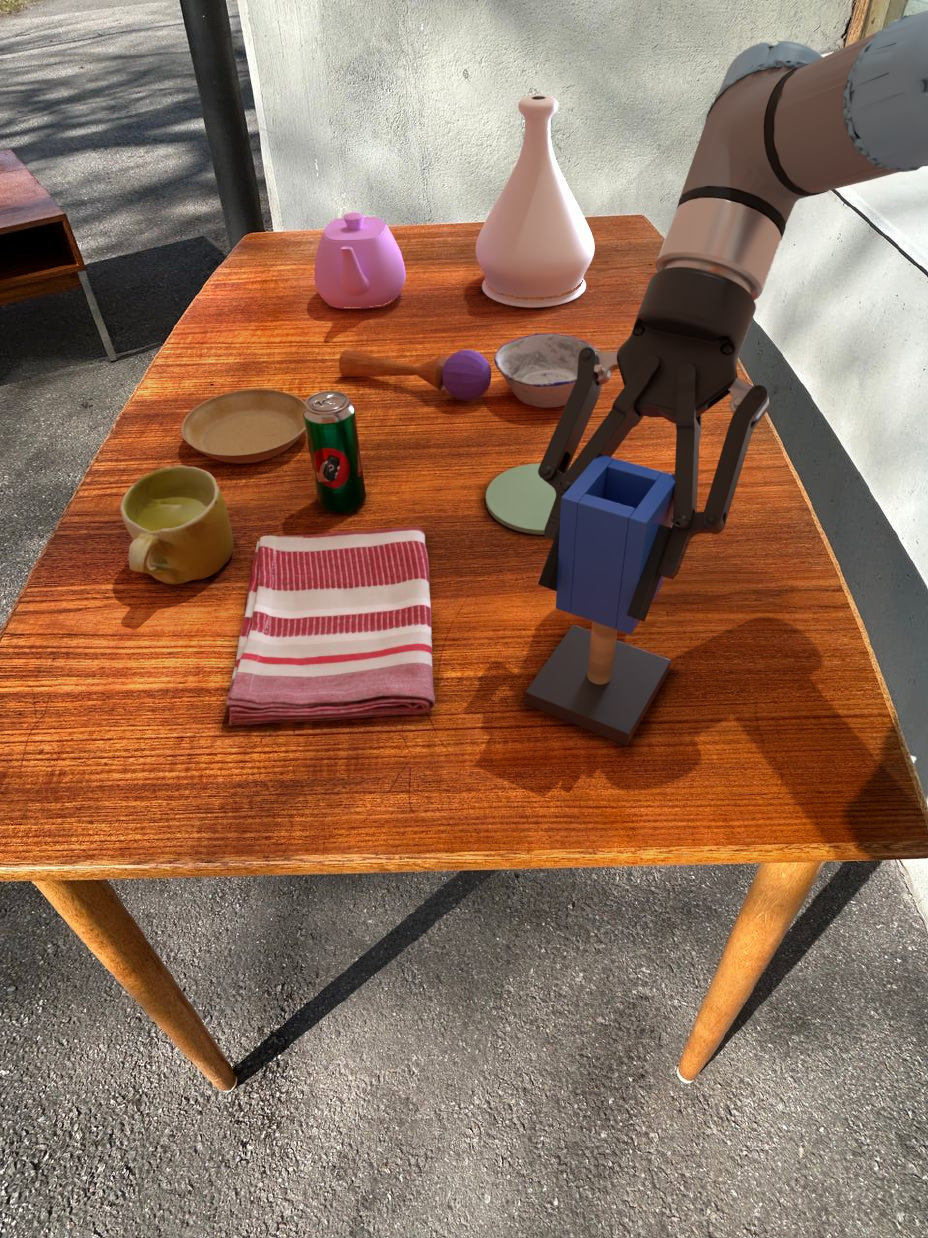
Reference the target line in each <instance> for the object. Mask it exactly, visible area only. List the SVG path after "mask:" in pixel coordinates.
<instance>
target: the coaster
mask: <svg viewBox="0 0 928 1238" xmlns="http://www.w3.org/2000/svg"><path fill="white" fill-rule="evenodd" d="M540 464H541V462H540V463H529V464H522V465H519V466H515V467H512V468H509V469H507V470H505V471H503V472H501V473H500V474H498V475H497V476H495V477H494V479H492V481H491V482H490V483H489V484H488V486H487V488H486V491H485V505H486V509H487V511H488V512H489V515H491V517H493V518H494V519H495V520H496V521H497V522H498V523H500V524H501V525H503V526H504V527H506V528H509V529H511V530H514V531H517V532H521V533H525V534H530V535H539V536H541V535H544V529H545V526H546V523H547V521H548V518H549V515H550V512H551V509H552V507H553V504H554V501H555V498H556V492H555V489H554V488H553V487H552V486H551V485H549V484H548V483H547V482H546V481H544V480H543V479H542V478H541V477H540V476H539V474H538V469H539V467H540ZM569 468H570V467H569ZM569 468H568V469H569Z"/></svg>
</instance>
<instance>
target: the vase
mask: <svg viewBox="0 0 928 1238" xmlns="http://www.w3.org/2000/svg"><path fill="white" fill-rule="evenodd" d="M517 106H518V107H517V109H518V112H519V113H520V114H521V115H522V116H523V118H524V135H523V136H524V137H523V142H522V146H521V151H520V154H519V156H518V158H517V161H516V164H515V165H514V168H513V169H512V172H511V174H510V175H509V177H508V180H507V181H506V183H505V185H504V187H503V189H502V190H501V192H500V194H499V196H498V198H497V200H496V201H495V203H494V205H493V207H492V209H491V210H490V212H489V214H488V216H487V218H486V220H485V221H484V223H483V226H482V227H481V229H480V231H479V234H478V236H477V239H476V243H475V247H474V248H475V249H474V250H475V251H474V252H475V258H476V261H477V264H478V265H479V267H480V269H481V271H482V273H483V276H484V280H483V281H482V284H481V289H482V291H483V293H484V295H486V296H487V297H488V298H490V299H492V300H493V301H495V302H498V303H501V304H504V305H507V306H512V307H520V308H549V307H553V306H559V305H563V304H567V303H569V302H571V301H573V300H576V299H577V298H579V297H580V296H582V294H583V293H584V292H585V291H586V288H587V283H586V281H585V279H584V276H585V274H586V272H587V271H588V269H589V267H590V265H591V263H592V261H593V258H594V255H595V239H594V237H593V234H592V231H591V229H590V227H589V225H588V223H587V222H588V221H587V220H586V219H585V216H584V215H583V213H582V210H581V208H580V206H579V205H578V202H577V201H576V199H575V196H574V195H573V193H572V190H571V189H570V188H569V185H568V183H567V181H566V179H565V177H564V174H563V173H562V170H561V168H560V166H559V164H558V162H557V161H558V160H557V159H556V155H555V152H554V149H553V143H552V136H551V135H552V134H551V120H552V117H553V116H554V114H555V113H556V112H557V111H558V109H559V101H558V100H557V99H556V98H555V97H553V96H550V95H546V94H533V95H532V94H531V95H527V96H525V97H523V98H521V99H520V100H519V102H518V105H517ZM485 280H486V282H487V284H488V285H489V286H490V287H491V288H493V289H494V290H496V291H498V292H501V293H503V294H506V295H513V296H518V297H535V298H536V297H547V296H548V297H549V296H553V295H561V294H563V293H566V292H568V291H570V290H573V289H574V288H576V287H577V286H578V285H579V284H580V283H581V282H582V280H583V282H582V284H581V286H580V287H579V288H578V289H577V290H575V291H574V292H572V293H570V294H567V295H564V296H561V297H557V298H552V299H544V300H523V299H515V298H510V297H506V296H503V295H500V294H497V293H495V292H494V291H492V290H491V289H490V288H489V287H488V286H487V285H486V282H485Z"/></svg>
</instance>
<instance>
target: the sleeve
mask: <svg viewBox="0 0 928 1238" xmlns="http://www.w3.org/2000/svg"><path fill="white" fill-rule="evenodd" d="M675 483H676V481H675V474H674V473H673V474H672V473H669V472H665V471H662V470H659V469H654V468H651V467H647V466H644V465H641V464H636V463H633V462H630V461H625V460H622V459H618V458H614V457H613V456H612V457H608V456H604V455H600V456H599V457H598V458H596V459H594V460H593V461H592V462H591V463H590V464H589V466H588V467H587V468H586V469H585V470H584V471H583V473H582V474H581V475H580V476H579V477H578V479H577V480H576V481H575V482H574V483H573V484H572V486H571V487H570V488H569V489H568V490H567V492H566V493H565V494H564V495H563V496H562V498H561V515H560V534H559V554H558V574H557V591H556V597H555V609H557V610H560V611H561V612H565V613H569V614H571V615H573V616H576V617H579V618H582V619H584V620H585V619H586V620H588V621H591V622H592V621H593V622H596V623H599V624H602V625H605V626H607V627H610V628H613V629H616V630H617V631H619V632H621V633H624V634H627V635H630V636H631V635H632V634H633V633H634V631H635V630H636V628H637V627H638V625H639V623H640V622H641V621H640V620H638V619H635V618H632V617H630V616H628V615H627V612H628V609H629V606H630V604H631V601H632V598H633V595H634V593H635V590H636V587H637V584H638V582H639V580H640V577H641V574H642V572H643V569H644V566H645V563H646V561H647V558H648V555H649V553H650V550H651V547H652V544H653V542H654V539H655V536H656V533H657V531H658V528H659V525H660V524H661V525H664V526H668V527H670V528H672V525H673V523H672V522H671V518H673V505H674V485H675ZM663 580H664V577H663V576H661V578H660V581H659V584H658V586H657V589H656V592H655V595H654V597H653V600H652V602H653V601H654V600H655V598H656V597H657V595H658V593H659V591H660V590H661V589H662V586H663Z"/></svg>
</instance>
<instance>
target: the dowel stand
mask: <svg viewBox="0 0 928 1238" xmlns="http://www.w3.org/2000/svg"><path fill="white" fill-rule="evenodd" d="M617 637H618V630H616V629H613V628H610V627H607V626H605V625H602V624H599V623H596V622H593V621H591V629H590V630H589V629H587V628H585V627H584V628H583V627H581V626H579V625H576V624H572V625H571V626H570V628H569V630H568V631H567V632H566V633H565V635H564V636H563V638H562V639H561V641H560V642H559V643H558V644H557V647H556V648H555V649H554V651H553V652H552V653H551V655H550V656H549V658H548V659H547V661H546V662H545V664H543V666H542V667H541V669H540V670H539V672H538V673H537V675H536V676H535V678H534V679H533V680H532V682H531V683H530V685H529V686H528V687H527V689H526V690H525V693H524V704H525V705H526V706H528V707H531V708H534V709H536V710H539V711H541V712H543V713H545V714H548V715H550V716H553V717H555V718H558V719H560V720H563V721H565V722H567V723H570V724H571V725H575V726H577V727H579V728H582V729H584V730H586V731H589V732H592V733H594V734H597V735H599V736H601V737H604V738H607V739H609V740H611V741H612V742H616V743H619V744H620V745H623V746H625V747H628V746H629V745H630V742H631V740H632V739H633V738H634V735H635V733H636V732H637V730H638V728H639V726H640V725H641V723H642V721H643V719H644V717H645V715H646V714H647V712H648V710H649V709H650V707H651V705H652V703H653V702H654V700H655V698H656V696H657V695H658V693H659V691H660V689H661V687H662V685H663V684H664V682H665V680H666V678H667V676H668V675H669V673H670V670H671V669H670V668H671V663H672V660H671V659H669V658H666V657H663V656H660V655H658V654H655V653H653V652H650V651H647V650H644V649H641V648H639V647H637V646H633V645H631V644H628V643H625V642H623V641H619V640H617Z"/></svg>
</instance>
